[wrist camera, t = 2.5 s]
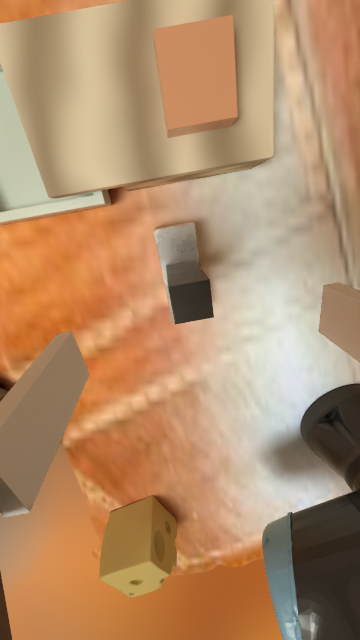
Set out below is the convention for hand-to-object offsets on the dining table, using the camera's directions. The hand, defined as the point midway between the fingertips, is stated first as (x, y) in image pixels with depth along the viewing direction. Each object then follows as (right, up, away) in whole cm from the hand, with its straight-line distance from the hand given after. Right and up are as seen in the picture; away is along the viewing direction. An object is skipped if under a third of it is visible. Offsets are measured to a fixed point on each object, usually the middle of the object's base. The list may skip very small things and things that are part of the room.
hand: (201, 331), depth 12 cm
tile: (0, +18, +5) cm, 18 cm away
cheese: (-9, -40, +36) cm, 55 cm away
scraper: (-1, +7, +16) cm, 17 cm away
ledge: (-4, +19, +10) cm, 22 cm away
